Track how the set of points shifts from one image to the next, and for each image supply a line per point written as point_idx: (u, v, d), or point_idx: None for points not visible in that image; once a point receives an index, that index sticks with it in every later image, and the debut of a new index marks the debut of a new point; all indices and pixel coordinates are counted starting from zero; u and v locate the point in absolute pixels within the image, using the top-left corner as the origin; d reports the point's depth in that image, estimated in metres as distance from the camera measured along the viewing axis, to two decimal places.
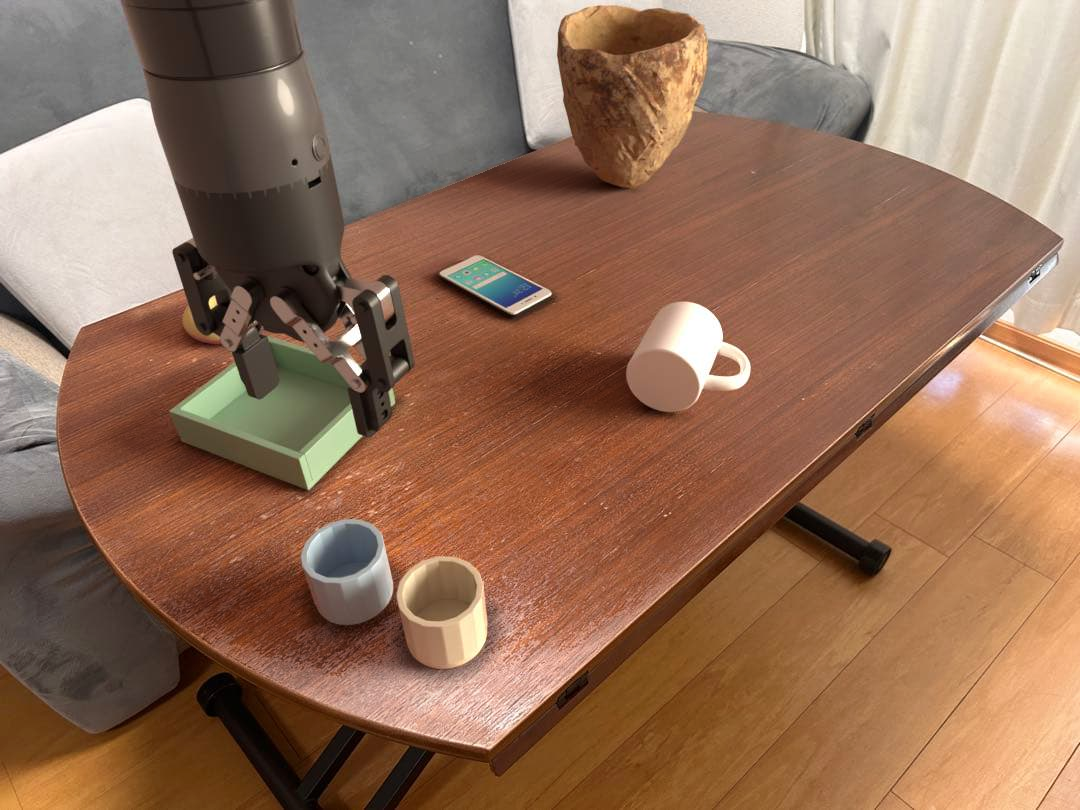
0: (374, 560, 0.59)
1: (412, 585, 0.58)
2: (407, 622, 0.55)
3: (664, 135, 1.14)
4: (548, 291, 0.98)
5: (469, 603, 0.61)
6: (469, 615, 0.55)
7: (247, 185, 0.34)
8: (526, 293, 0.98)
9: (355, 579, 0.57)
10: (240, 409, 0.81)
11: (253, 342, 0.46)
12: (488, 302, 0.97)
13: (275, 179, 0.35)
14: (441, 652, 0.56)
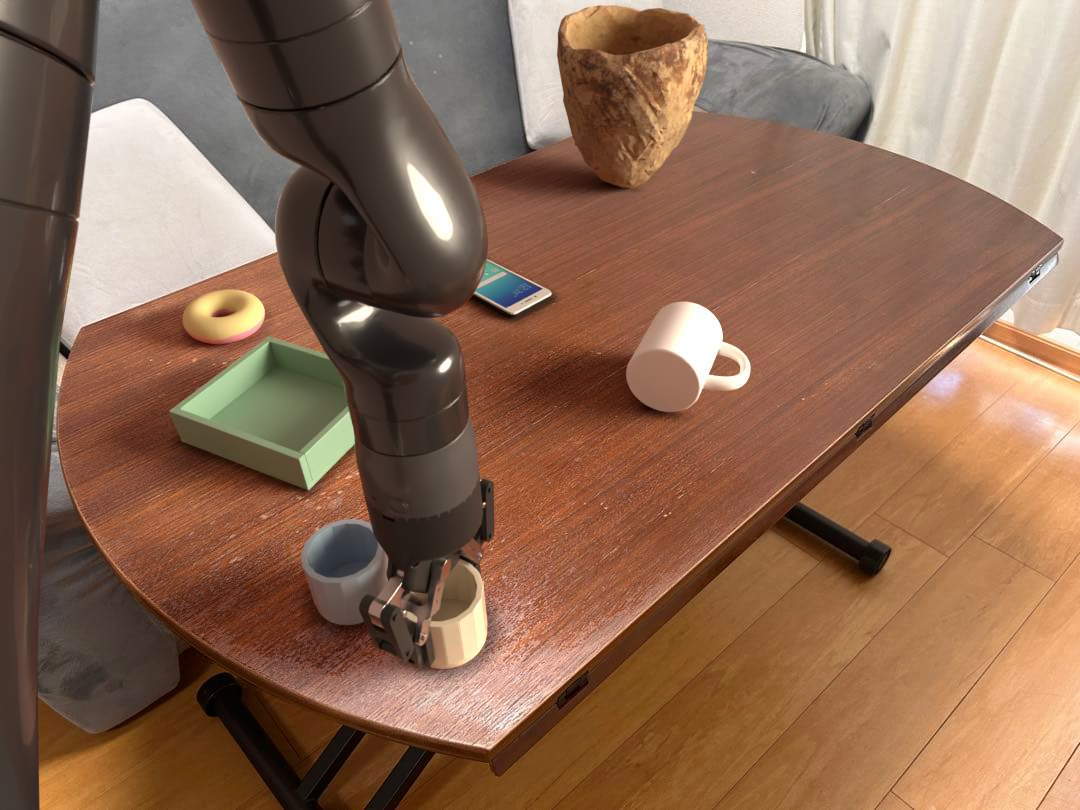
0: (374, 560, 0.59)
1: None
2: None
3: (664, 135, 1.14)
4: (548, 291, 0.98)
5: (469, 603, 0.61)
6: (469, 615, 0.55)
7: None
8: (526, 293, 0.98)
9: (355, 579, 0.57)
10: (240, 409, 0.81)
11: None
12: (488, 302, 0.97)
13: (366, 494, 0.47)
14: (441, 652, 0.56)
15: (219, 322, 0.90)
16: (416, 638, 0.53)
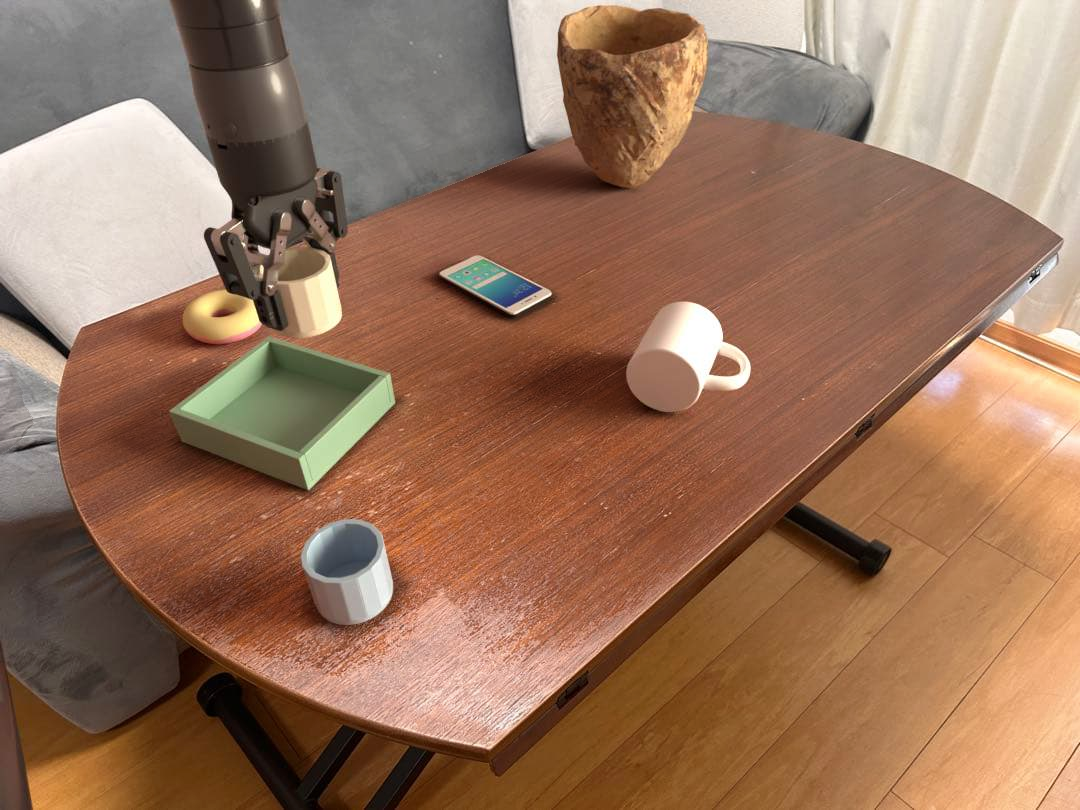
0: (374, 560, 0.59)
1: None
2: None
3: (664, 135, 1.14)
4: (548, 291, 0.98)
5: None
6: (314, 278, 0.64)
7: None
8: (526, 293, 0.98)
9: (355, 579, 0.57)
10: (240, 409, 0.81)
11: None
12: (488, 302, 0.97)
13: (205, 129, 0.56)
14: (293, 316, 0.65)
15: (219, 322, 0.90)
16: (263, 287, 0.62)
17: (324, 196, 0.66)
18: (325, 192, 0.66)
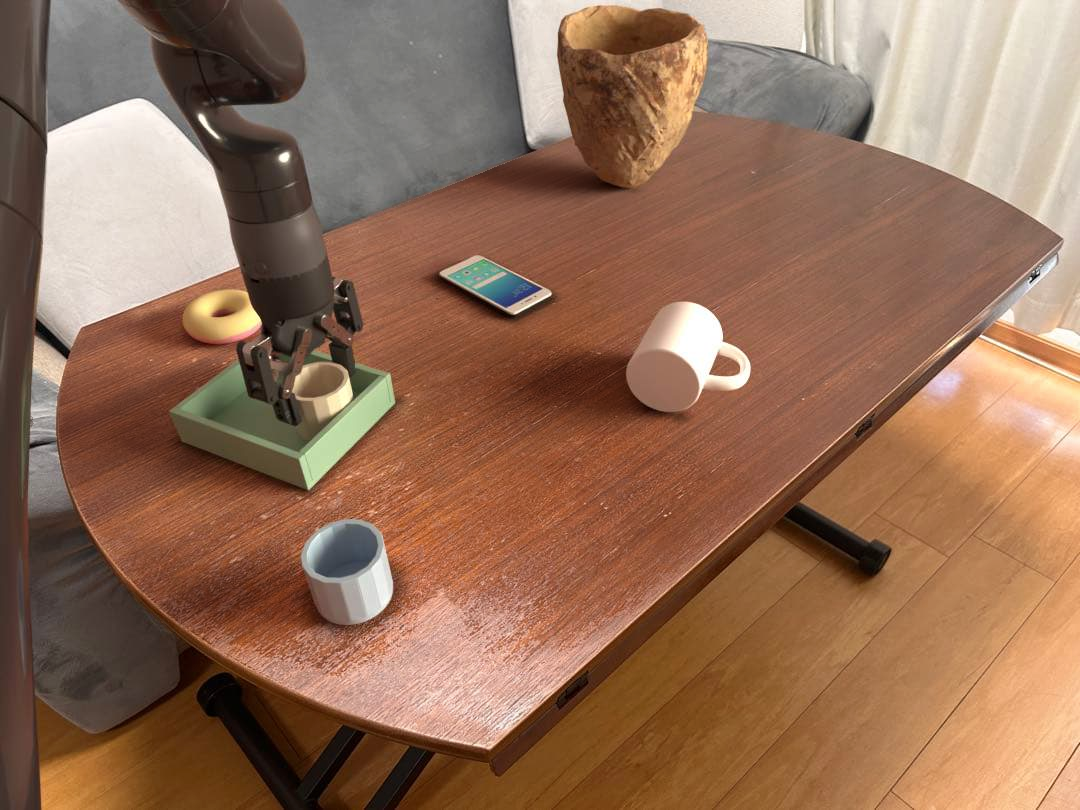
0: (374, 560, 0.59)
1: (298, 381, 0.77)
2: None
3: (664, 135, 1.14)
4: (548, 291, 0.98)
5: None
6: (335, 394, 0.74)
7: None
8: (526, 293, 0.98)
9: (355, 579, 0.57)
10: (240, 409, 0.81)
11: (338, 345, 0.77)
12: (488, 302, 0.97)
13: (240, 265, 0.65)
14: (316, 426, 0.75)
15: (219, 322, 0.90)
16: (281, 392, 0.70)
17: (340, 302, 0.75)
18: (341, 299, 0.75)
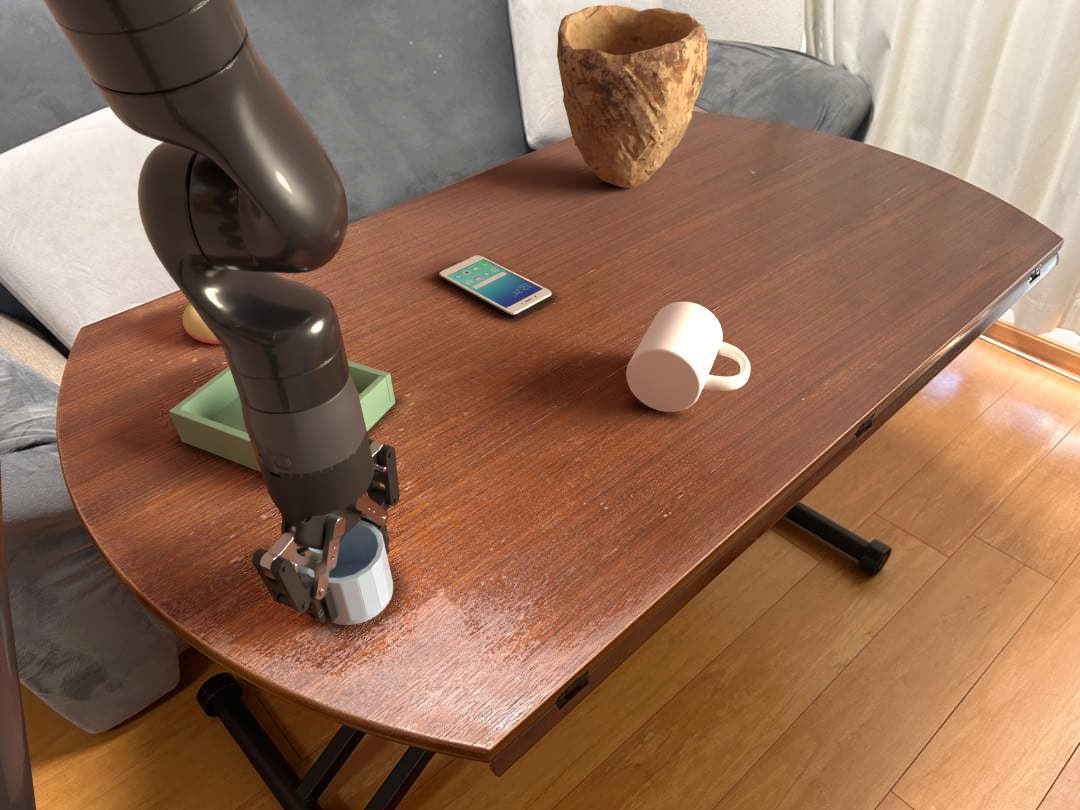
0: (374, 560, 0.59)
1: None
2: None
3: (664, 135, 1.14)
4: (548, 291, 0.98)
5: None
6: None
7: None
8: (526, 293, 0.98)
9: (355, 579, 0.57)
10: (240, 409, 0.81)
11: None
12: (488, 302, 0.97)
13: (255, 452, 0.50)
14: None
15: None
16: (314, 592, 0.56)
17: (376, 471, 0.60)
18: (378, 469, 0.60)
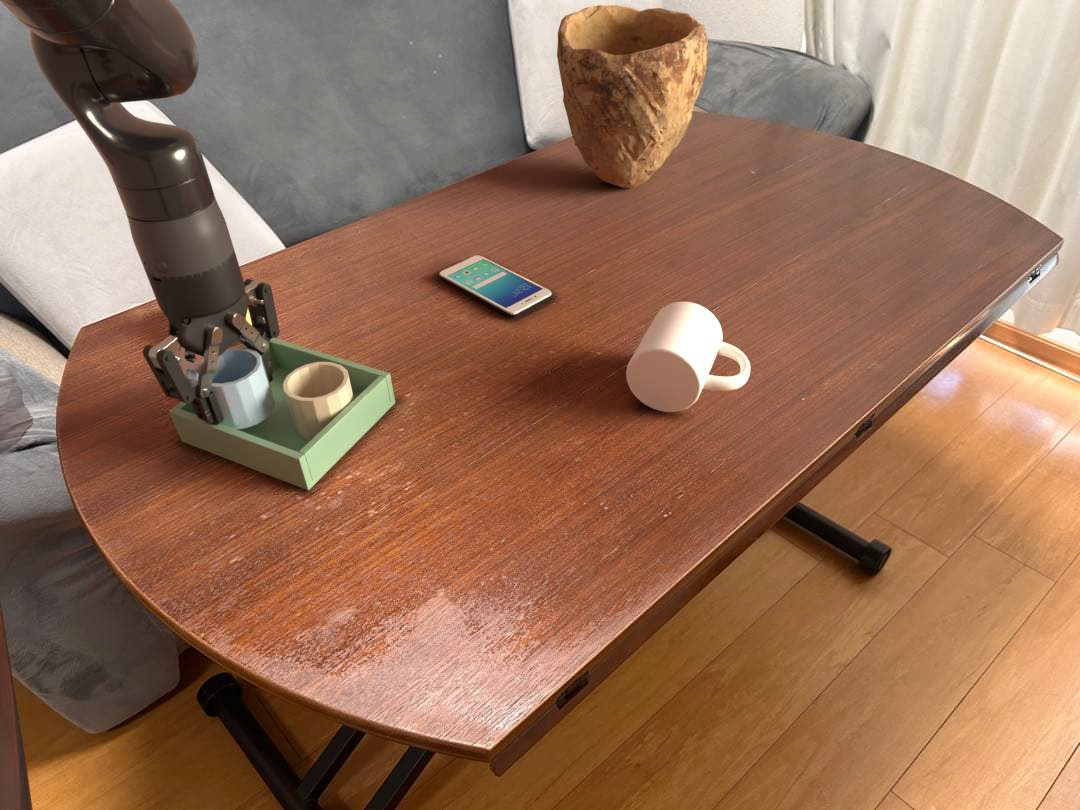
0: (251, 372, 0.73)
1: (298, 381, 0.77)
2: (289, 401, 0.74)
3: (664, 135, 1.14)
4: (548, 291, 0.98)
5: None
6: (335, 394, 0.74)
7: None
8: (526, 293, 0.98)
9: (234, 384, 0.72)
10: None
11: None
12: (488, 302, 0.97)
13: (142, 263, 0.64)
14: (316, 426, 0.75)
15: None
16: (198, 390, 0.70)
17: (256, 304, 0.74)
18: (257, 301, 0.74)
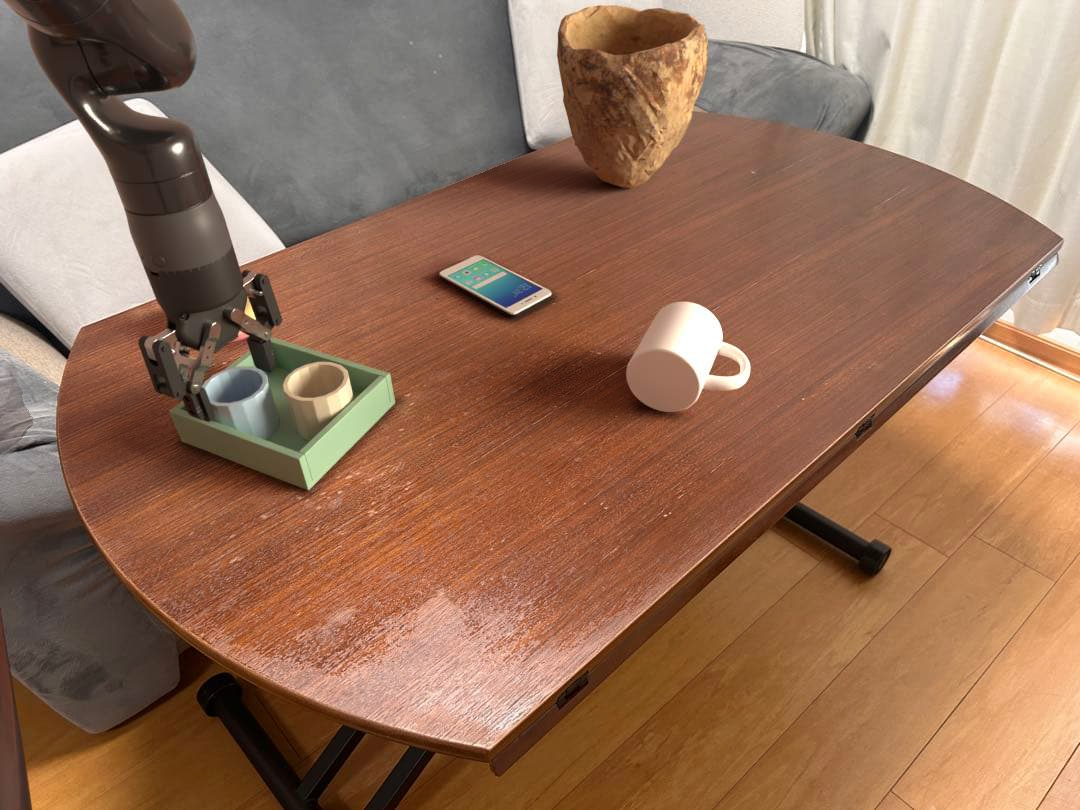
0: (257, 392, 0.74)
1: (298, 381, 0.77)
2: (289, 401, 0.74)
3: (664, 135, 1.14)
4: (548, 291, 0.98)
5: None
6: (335, 394, 0.74)
7: None
8: (526, 293, 0.98)
9: (240, 404, 0.73)
10: None
11: (256, 340, 0.76)
12: (488, 302, 0.97)
13: (140, 258, 0.64)
14: (316, 426, 0.75)
15: None
16: (189, 386, 0.69)
17: (255, 296, 0.74)
18: (256, 293, 0.74)
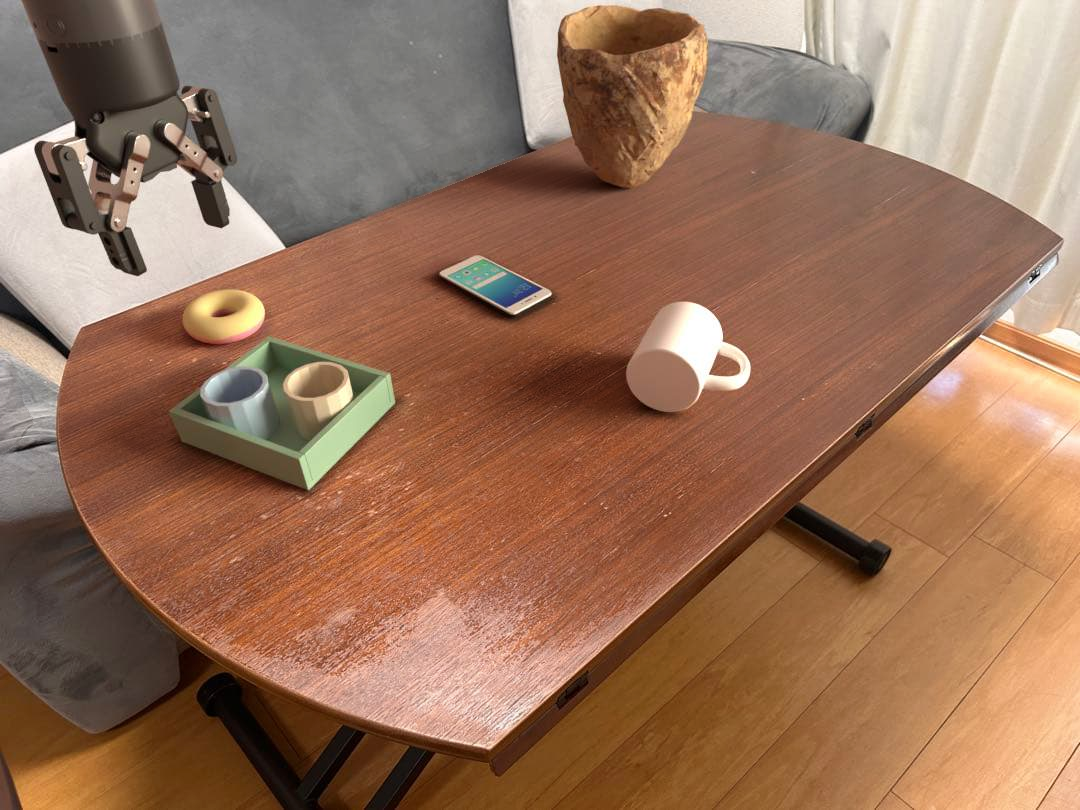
0: (257, 392, 0.74)
1: (298, 381, 0.77)
2: (289, 401, 0.74)
3: (664, 135, 1.14)
4: (548, 291, 0.98)
5: None
6: (335, 394, 0.74)
7: None
8: (526, 293, 0.98)
9: (240, 404, 0.73)
10: None
11: (203, 181, 0.60)
12: (488, 302, 0.97)
13: (34, 30, 0.48)
14: (316, 426, 0.75)
15: (219, 322, 0.90)
16: (108, 220, 0.53)
17: (200, 119, 0.58)
18: (200, 114, 0.57)
